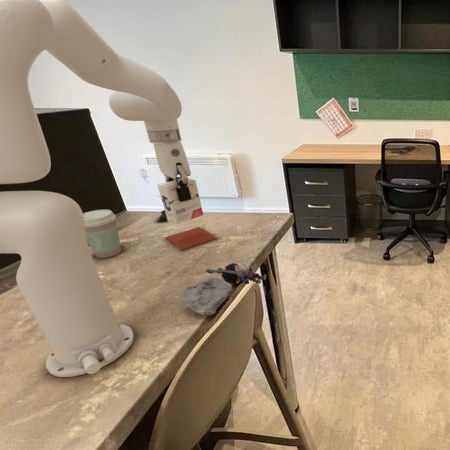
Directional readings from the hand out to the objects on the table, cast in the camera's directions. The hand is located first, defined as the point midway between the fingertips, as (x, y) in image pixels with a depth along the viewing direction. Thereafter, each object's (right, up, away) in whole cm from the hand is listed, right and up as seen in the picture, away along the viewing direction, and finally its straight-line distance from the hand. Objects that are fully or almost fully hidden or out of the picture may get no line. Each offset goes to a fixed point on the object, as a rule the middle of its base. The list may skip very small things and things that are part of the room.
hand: (180, 197), depth 101 cm
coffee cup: (-18, -17, -3) cm, 25 cm away
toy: (+32, -21, -17) cm, 42 cm away
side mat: (0, -13, +6) cm, 14 cm away
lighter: (-15, -4, +20) cm, 25 cm away
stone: (+20, -22, -21) cm, 37 cm away
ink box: (0, -6, +3) cm, 7 cm away
